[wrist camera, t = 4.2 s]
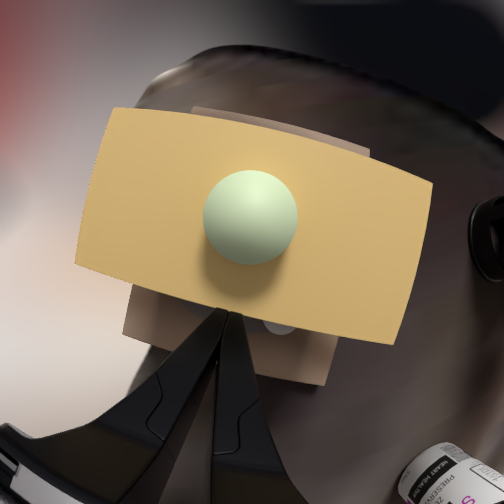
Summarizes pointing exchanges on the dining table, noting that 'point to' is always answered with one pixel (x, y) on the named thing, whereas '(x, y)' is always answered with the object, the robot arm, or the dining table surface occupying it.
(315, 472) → the dining table surface
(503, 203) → the french press
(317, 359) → the level base
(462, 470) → the supplement can
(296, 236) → the yellow boxy piece
